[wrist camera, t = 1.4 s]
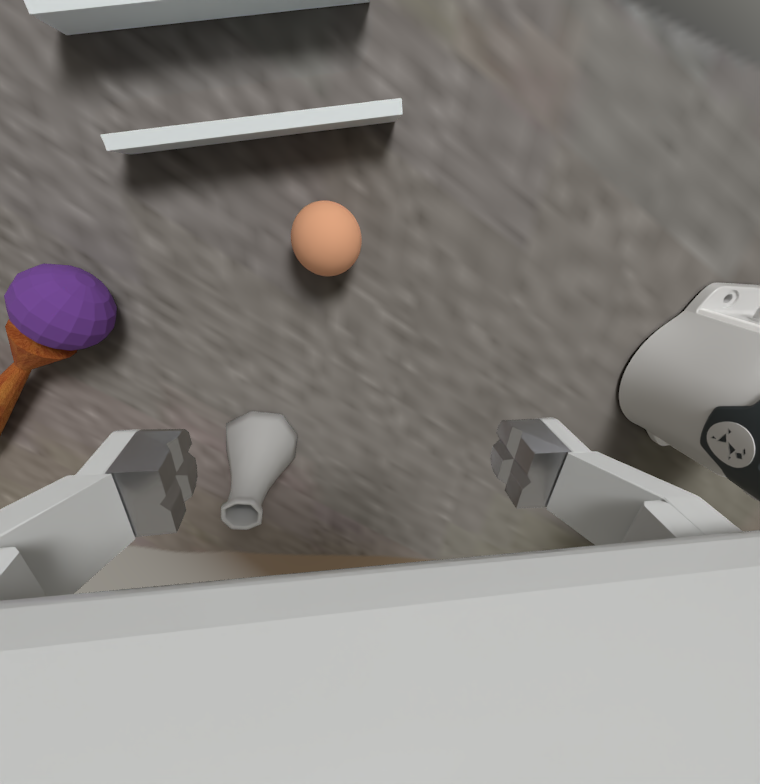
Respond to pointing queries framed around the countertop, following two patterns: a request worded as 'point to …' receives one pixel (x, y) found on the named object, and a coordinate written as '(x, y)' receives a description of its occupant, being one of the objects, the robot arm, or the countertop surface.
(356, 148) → the countertop surface
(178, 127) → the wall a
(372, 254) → the countertop surface
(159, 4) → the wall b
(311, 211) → the ball
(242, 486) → the flask
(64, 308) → the purple and orange maraca
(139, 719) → the robot arm
